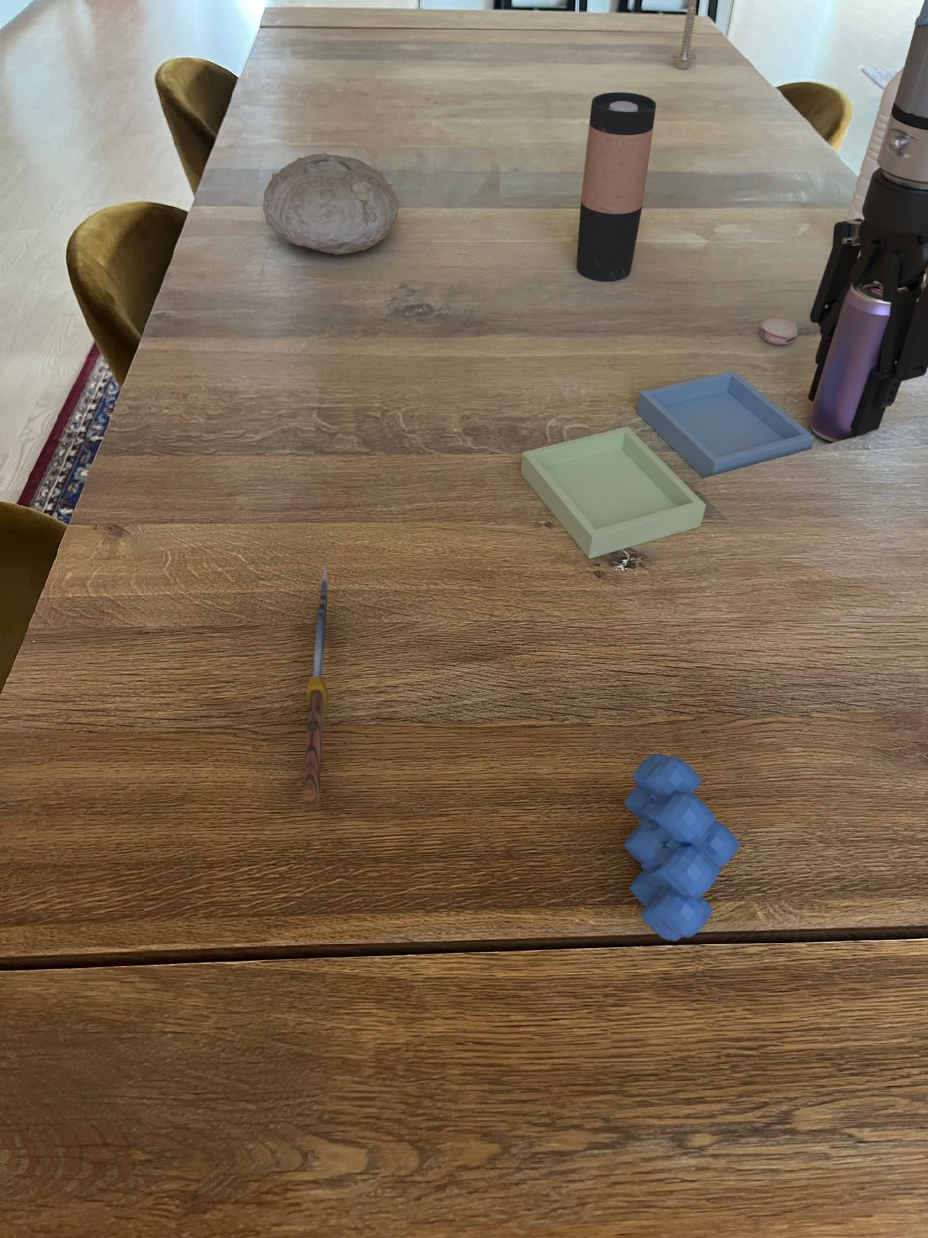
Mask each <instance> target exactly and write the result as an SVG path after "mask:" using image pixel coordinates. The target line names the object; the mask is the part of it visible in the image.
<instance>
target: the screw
mask: <svg viewBox="0 0 928 1238" xmlns="http://www.w3.org/2000/svg"><path fill="white" fill-rule="evenodd" d="M687 7H688V8H687V10H686V11H687V12H686V13H685V14H686V16H685V20H684V22H685V23H684V26H683V28H684V30H683V34H682V35H683V37H682V41H681V42H682V44H681V47H680V49H681V50H679V51H675V52H674V53H672V54H671V58H672V59H673V60H675V68H677V69H679V70H688V69H689V68H690V66H691V63H692V61H695V60H697V54H696V53H695V52H692V51H691V50H690V49H691V45H692V38H693V31H694V28H695V25H694V24H695V20H696V18H695V17H696V14H697V11H696V10H697V8H696V7H697V0H689V2H688V6H687Z"/></svg>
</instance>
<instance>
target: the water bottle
mask: <svg viewBox="0 0 928 1238" xmlns="http://www.w3.org/2000/svg"><path fill="white" fill-rule="evenodd" d="M903 69H904V66H903V67H902V68H901V69H900V70H898V72H897V73H896V74H895V75H894V76H893V77H892V78H891V79H890V80H889V81H888V83H887V84H886V86H885V88H884V90H883V93H882V95H881V97H880V98H881V99H880V103H879V107H878V110H877V113H876V118H875V120H874V124H873V127H872V131H871V134H870V139H869V140H868V144H867V147H866V151H865V153H864V155H863V156H864V157H863V159H862V163H861V166H860V172H859V174H858V176H857V180H856V182H855V189H854V191H853V193H852V197H851V198H852V200H851V201H850V203H849V206H848V210H847V213H846V218H845V220H844V221H847V220H852V219H858V218H861V219H862V220H864V217H863V214H862V207H863V204H864V200H865V197H866V194H867V190H868V187H869V184H870V180H871V177H872V174H873V172H875V171H876V170H877V169H878V168H880V167H879V165H878V164H877V158H878V155H879V152H880V148H881V145H882V141H883V138H884V134H885V131H886V127H887V124H888V120H889V117H890V114H891V111H892V107H893V103H894V100H895V98H896V94H897V90H898V87H899V83H900V80H901V76H902V72H903ZM860 251H861V250H860ZM859 256H860V253H859ZM859 256H858V257H859Z"/></svg>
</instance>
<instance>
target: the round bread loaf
mask: <svg viewBox="0 0 928 1238" xmlns="http://www.w3.org/2000/svg"><path fill="white" fill-rule="evenodd" d="M263 193H264V194H263V204H262V211H263V213H264V218H265V222H266V224H267V225H268V226H269V227H270V228H271V230H272V231H273V232H274V233H275V234H276V235H277V236H279V237H281V238H282V239H284V241H287V242H288V243H291V244H293V245H295V246H299V247H300V246H301V247H305V248H308V249H311V250H314V251H319V252H324V253H326V254H334V255H336V256H337V255H348V254H351V253H357V252H359V251H366V250H367V249H371V247H373V246H375V245H376V244H377V243H379V242H380V241H382V240H384V239H385V237H386V236H388V234H389V233H390V231H391V229H392V228H393V227H394V225H395V224H396V221H397V218H398V215H399V201H398V197H397V195H396V193H395V191H394V189H393V187H392V184H391V183H389V181H388V180H387V179H385V178H384V176H383V172H382V171H380V170H379V171H378V170H377V169H375V168H373V167H371V166H370V165H368V163H365V162H364V161H362V160H360V159H357V158H353V157H350V156H349V155H348V156H342V155H338V154H337V155H336V154H335V155H334V154H333V155H332V154H328V153H326V152H323V153H322V154H321V153H314V154H310V155H305V156H304V157H297V159H296V160H293V161H292V162H289V163H288V164H287V165H285V166H283V167H282V168H281V169H280V170H279V171H278V172H277V173H276V172H275V173H272V174H271V179H270V181H269V182H268V184H267V186H266V187H265V190H264V192H263Z"/></svg>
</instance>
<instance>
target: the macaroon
mask: <svg viewBox="0 0 928 1238" xmlns="http://www.w3.org/2000/svg"><path fill="white" fill-rule="evenodd" d="M798 329H799V328H798V326H797V323H796V322H795V321H792V320H789V319H786V318H781V317H775V318H766V319H765V320H763V321H762V322H761V323H760V327H759V334H760V336H761V337H762V339H763V340H764V341H766V342H767V343H768V344H772V345H774V346H782V345H789V344H791V343H792V342H793V341H794V340H795V339H796V338H797V336H798Z"/></svg>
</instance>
